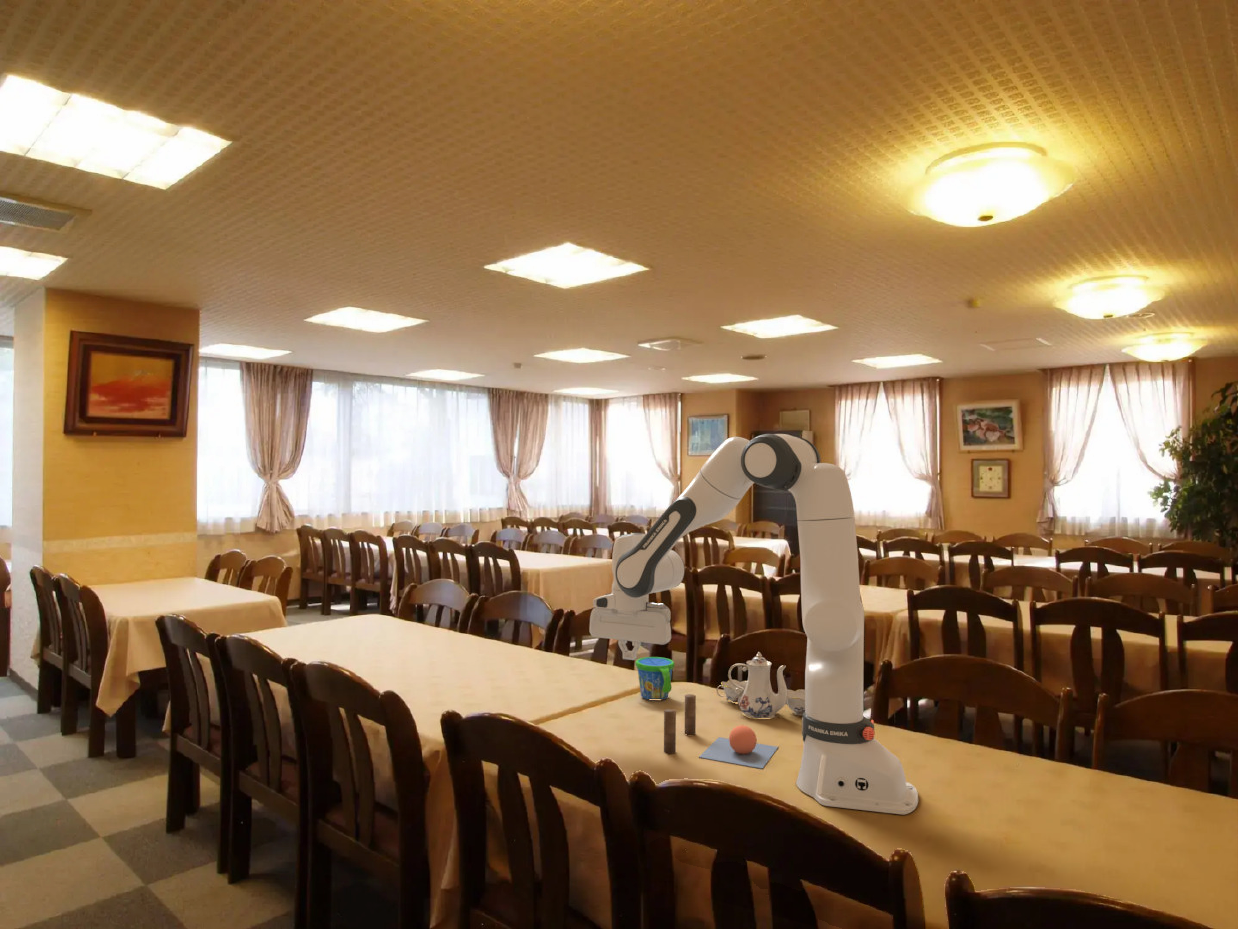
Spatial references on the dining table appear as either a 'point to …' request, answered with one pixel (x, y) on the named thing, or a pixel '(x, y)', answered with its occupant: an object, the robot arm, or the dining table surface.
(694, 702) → the post
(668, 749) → the post
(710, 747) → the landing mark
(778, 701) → the chinaware
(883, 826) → the dining table surface
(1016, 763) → the dining table surface
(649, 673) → the snack cup
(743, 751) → the ball
